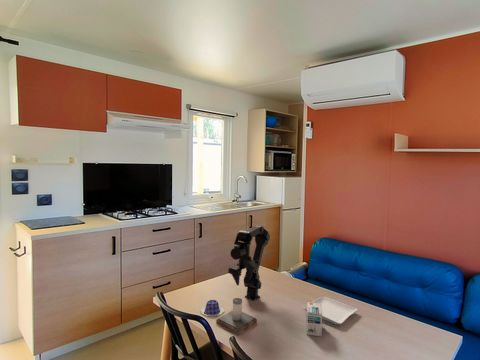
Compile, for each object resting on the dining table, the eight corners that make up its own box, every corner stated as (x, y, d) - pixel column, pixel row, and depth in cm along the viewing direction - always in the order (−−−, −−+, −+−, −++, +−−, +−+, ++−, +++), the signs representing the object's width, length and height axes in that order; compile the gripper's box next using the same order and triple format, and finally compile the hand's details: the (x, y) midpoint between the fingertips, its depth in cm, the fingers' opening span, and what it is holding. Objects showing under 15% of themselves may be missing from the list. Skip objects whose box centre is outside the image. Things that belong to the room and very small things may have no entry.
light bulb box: (321, 337, 139) (322, 314, 138) (306, 335, 141) (307, 312, 140) (320, 324, 150) (321, 303, 149) (306, 322, 151) (307, 301, 150)
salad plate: (358, 314, 161) (358, 308, 161) (340, 330, 146) (340, 323, 146) (321, 300, 176) (322, 295, 176) (301, 313, 160) (302, 307, 160)
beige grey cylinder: (240, 315, 152) (240, 297, 151) (242, 320, 147) (243, 302, 146) (231, 316, 151) (231, 298, 150) (233, 320, 146) (233, 302, 145)
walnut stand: (235, 312, 159) (235, 308, 159) (256, 322, 150) (257, 317, 150) (216, 323, 148) (216, 318, 148) (237, 334, 139) (237, 329, 139)
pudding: (219, 304, 168) (219, 295, 168) (227, 315, 157) (227, 305, 157) (198, 308, 163) (198, 298, 163) (204, 319, 152) (204, 309, 152)
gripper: (244, 262, 152) (243, 292, 153) (266, 253, 166) (265, 282, 167) (227, 256, 159) (227, 286, 160) (250, 249, 173) (250, 276, 174)
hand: (243, 282), depth 165 cm, fingers open, 9 cm apart
